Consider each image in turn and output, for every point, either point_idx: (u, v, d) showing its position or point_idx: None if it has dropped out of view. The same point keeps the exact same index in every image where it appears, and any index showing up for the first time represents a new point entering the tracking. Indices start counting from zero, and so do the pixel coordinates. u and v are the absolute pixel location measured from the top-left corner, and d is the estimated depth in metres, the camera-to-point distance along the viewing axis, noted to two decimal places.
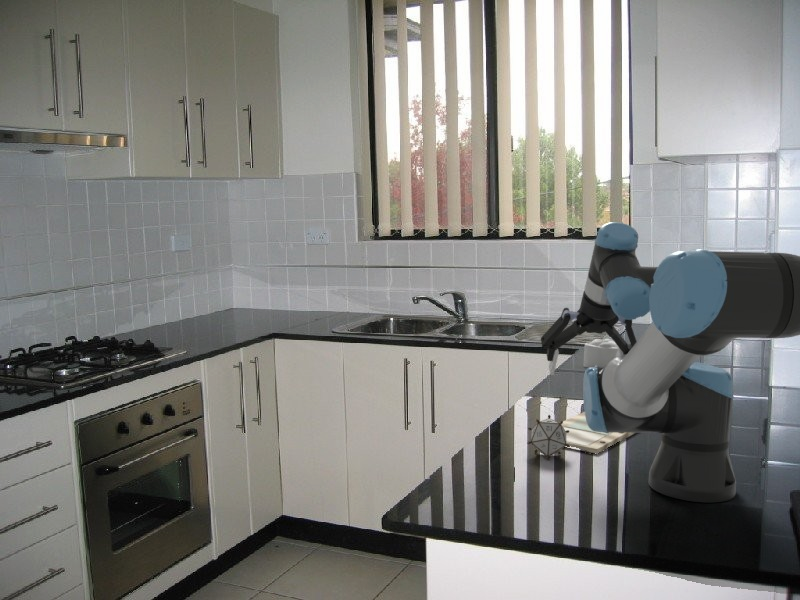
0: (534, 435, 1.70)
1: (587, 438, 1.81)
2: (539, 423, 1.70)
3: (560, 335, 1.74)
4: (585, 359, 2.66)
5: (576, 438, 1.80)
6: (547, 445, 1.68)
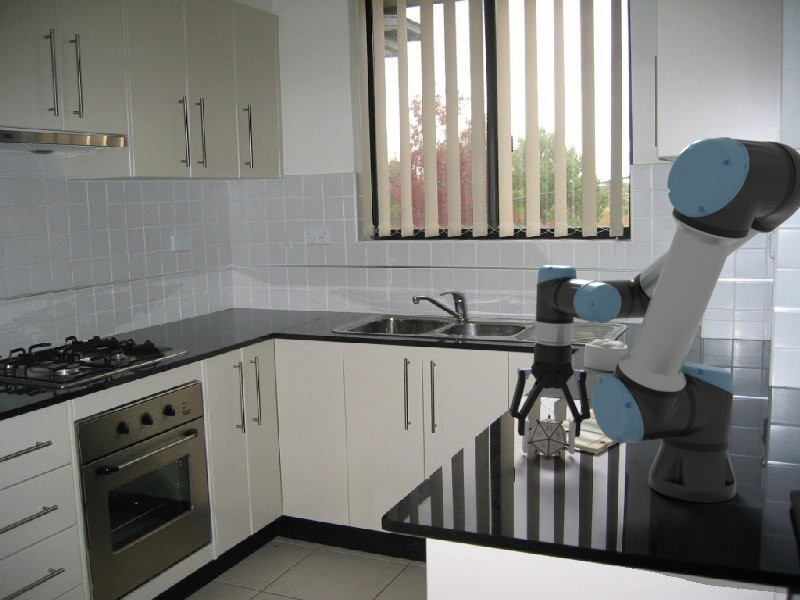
0: (534, 435, 1.70)
1: (587, 438, 1.81)
2: (539, 423, 1.70)
3: (525, 403, 1.71)
4: (585, 359, 2.66)
5: (576, 438, 1.80)
6: (547, 445, 1.68)
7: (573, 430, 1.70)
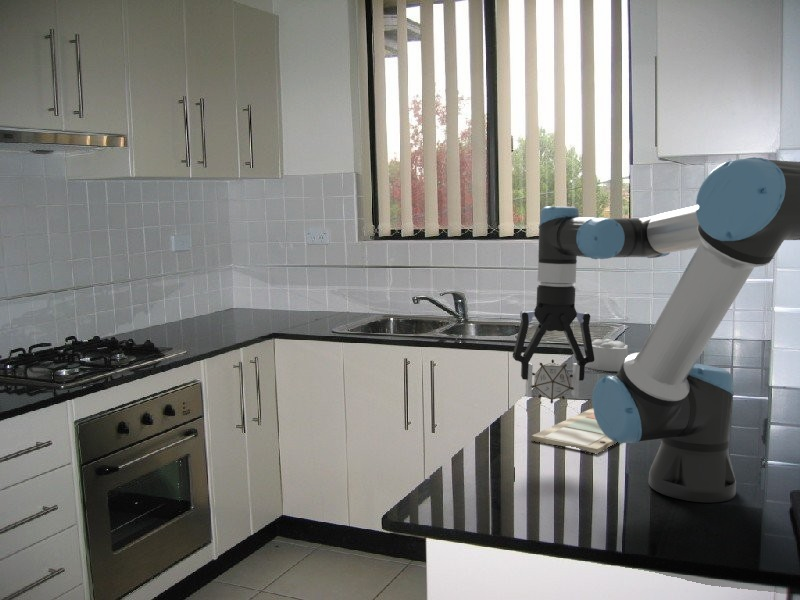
0: (538, 378, 1.68)
1: (587, 438, 1.81)
2: (543, 366, 1.68)
3: (528, 346, 1.69)
4: None
5: (576, 438, 1.80)
6: (551, 388, 1.66)
7: (577, 373, 1.68)
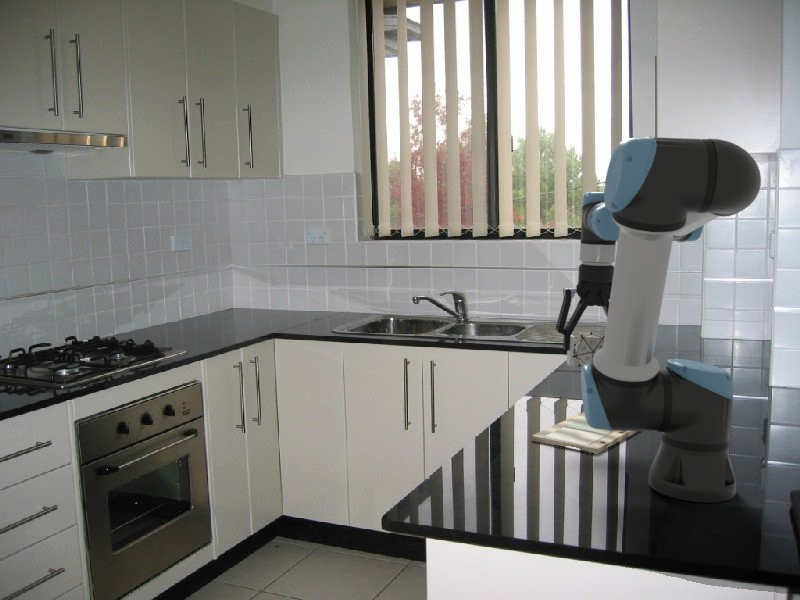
0: (579, 349, 1.84)
1: (587, 438, 1.81)
2: (583, 338, 1.84)
3: (570, 320, 1.85)
4: None
5: (576, 438, 1.80)
6: (591, 357, 1.83)
7: None
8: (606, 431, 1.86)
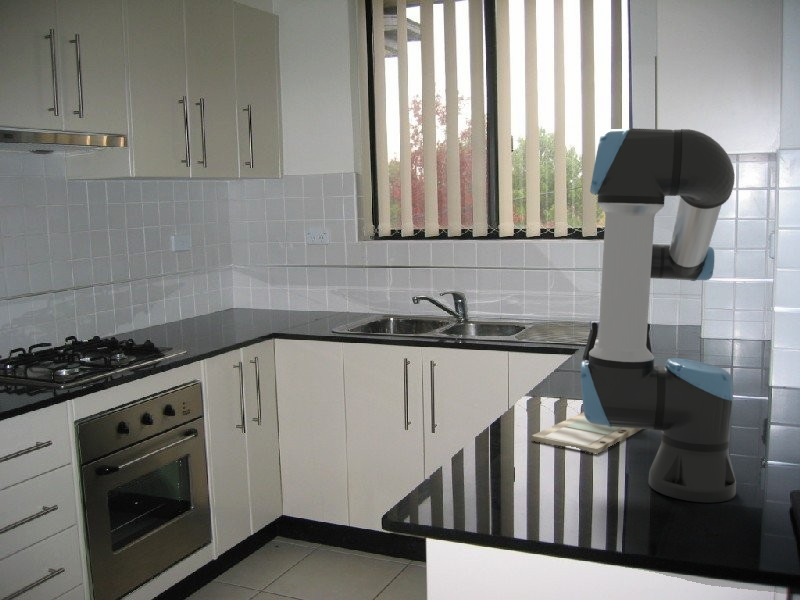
0: None
1: (587, 438, 1.81)
2: None
3: None
4: None
5: (576, 438, 1.80)
6: None
7: None
8: (606, 431, 1.86)
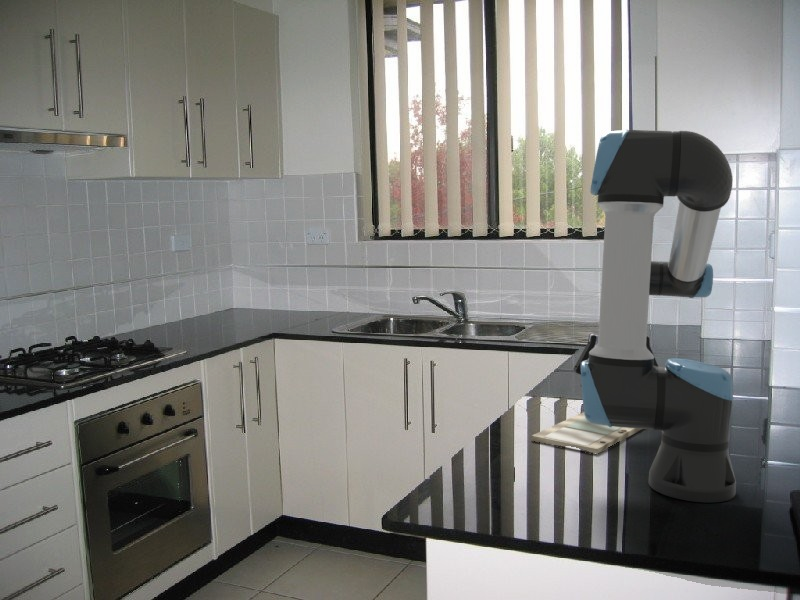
0: None
1: (587, 438, 1.81)
2: None
3: None
4: None
5: (576, 438, 1.80)
6: None
7: None
8: (606, 431, 1.86)
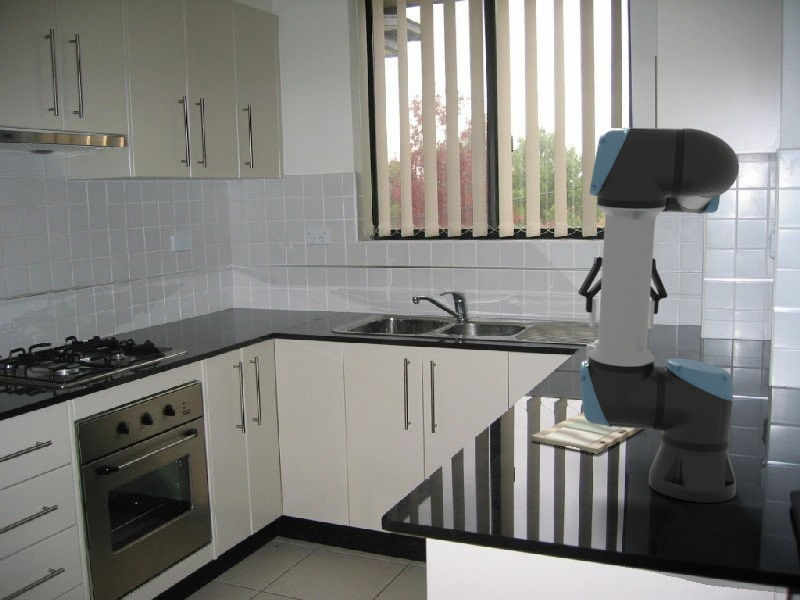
0: None
1: (587, 438, 1.81)
2: None
3: (595, 285, 1.96)
4: None
5: (576, 438, 1.80)
6: None
7: (652, 307, 1.95)
8: (606, 431, 1.86)
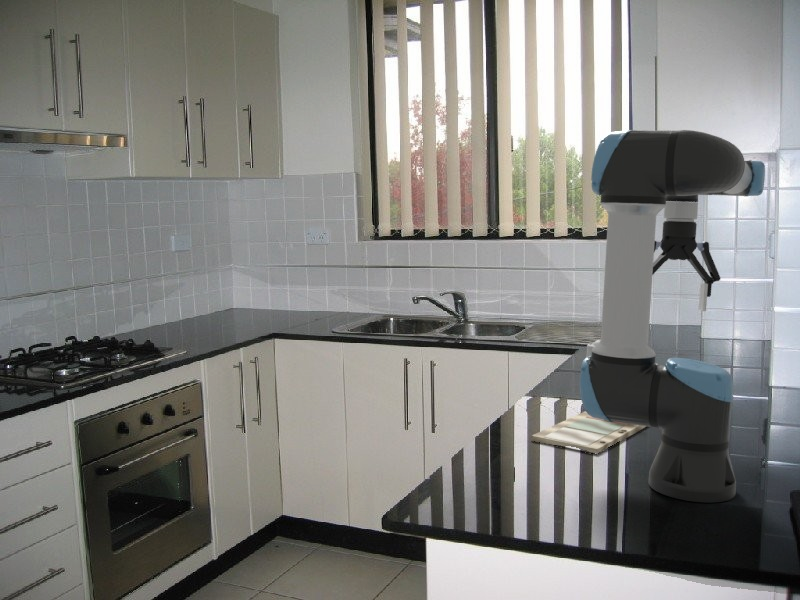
0: None
1: (587, 438, 1.81)
2: None
3: None
4: None
5: (576, 438, 1.80)
6: None
7: (705, 290, 1.99)
8: (606, 431, 1.86)
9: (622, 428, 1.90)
